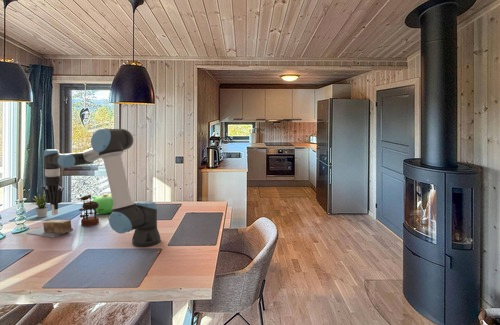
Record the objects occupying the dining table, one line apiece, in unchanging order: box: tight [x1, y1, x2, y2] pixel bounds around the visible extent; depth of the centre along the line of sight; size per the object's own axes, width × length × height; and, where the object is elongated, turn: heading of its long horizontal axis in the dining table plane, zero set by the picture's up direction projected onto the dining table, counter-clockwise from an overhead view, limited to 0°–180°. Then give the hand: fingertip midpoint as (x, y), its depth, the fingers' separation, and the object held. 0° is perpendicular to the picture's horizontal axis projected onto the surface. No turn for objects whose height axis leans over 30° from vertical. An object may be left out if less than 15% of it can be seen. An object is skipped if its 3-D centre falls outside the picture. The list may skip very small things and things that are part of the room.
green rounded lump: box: [91, 193, 114, 215], centre depth 225 cm, size 18×17×15 cm
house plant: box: [31, 193, 49, 218], centre depth 213 cm, size 14×14×16 cm
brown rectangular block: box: [42, 219, 73, 234], centre depth 184 cm, size 6×6×14 cm
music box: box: [76, 194, 104, 227], centre depth 201 cm, size 15×11×20 cm
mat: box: [26, 226, 74, 238], centre depth 186 cm, size 20×14×1 cm
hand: (54, 214), depth 183 cm, fingers closed
